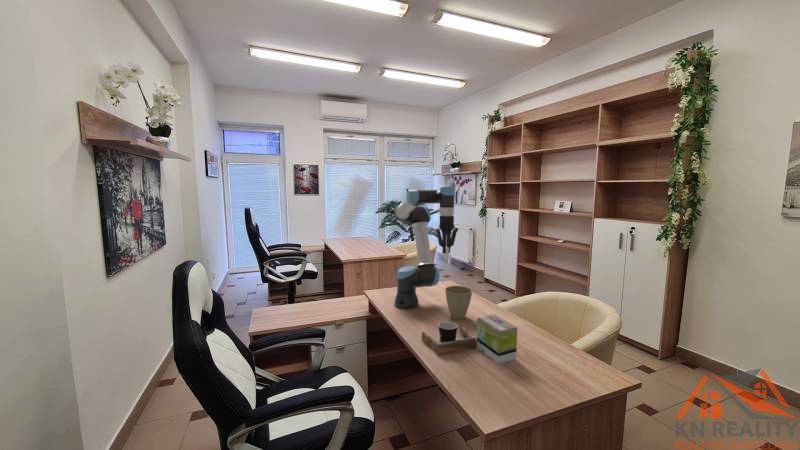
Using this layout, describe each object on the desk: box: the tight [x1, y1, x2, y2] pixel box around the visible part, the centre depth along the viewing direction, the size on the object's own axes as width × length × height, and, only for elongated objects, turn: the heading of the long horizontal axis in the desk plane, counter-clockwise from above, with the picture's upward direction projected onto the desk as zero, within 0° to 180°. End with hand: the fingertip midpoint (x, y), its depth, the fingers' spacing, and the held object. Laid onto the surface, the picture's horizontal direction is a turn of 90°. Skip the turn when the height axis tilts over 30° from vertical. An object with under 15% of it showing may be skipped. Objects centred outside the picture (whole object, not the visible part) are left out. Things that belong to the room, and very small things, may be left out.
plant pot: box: [444, 285, 473, 320], centre depth 178 cm, size 15×15×16 cm
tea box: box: [476, 314, 518, 365], centre depth 138 cm, size 15×10×15 cm
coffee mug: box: [438, 320, 458, 343], centre depth 146 cm, size 12×9×10 cm
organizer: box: [421, 325, 478, 356], centre depth 147 cm, size 16×22×5 cm
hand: (446, 259), depth 170 cm, fingers closed
